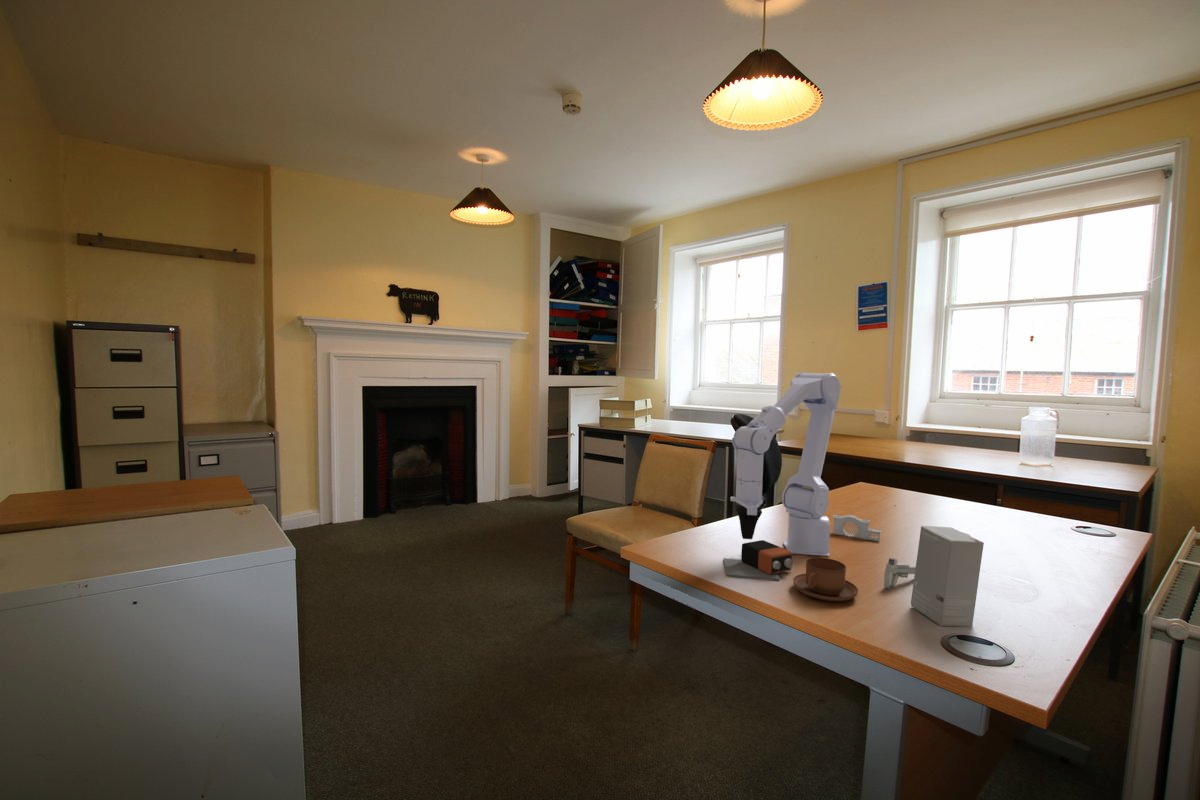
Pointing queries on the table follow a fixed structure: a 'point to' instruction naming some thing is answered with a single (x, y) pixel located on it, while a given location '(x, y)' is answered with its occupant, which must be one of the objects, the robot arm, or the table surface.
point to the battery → (766, 557)
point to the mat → (746, 570)
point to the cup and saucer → (825, 580)
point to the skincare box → (947, 575)
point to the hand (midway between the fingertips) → (747, 538)
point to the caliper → (896, 572)
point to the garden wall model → (862, 526)
